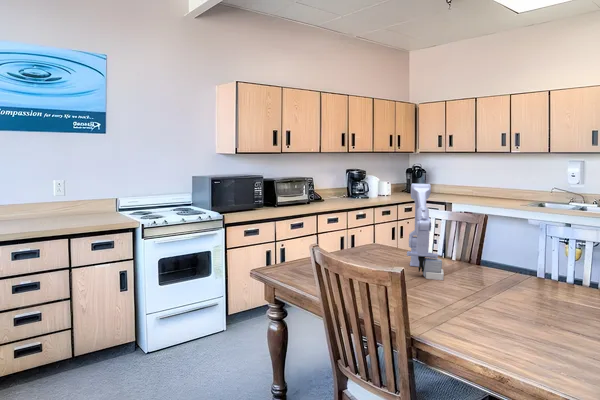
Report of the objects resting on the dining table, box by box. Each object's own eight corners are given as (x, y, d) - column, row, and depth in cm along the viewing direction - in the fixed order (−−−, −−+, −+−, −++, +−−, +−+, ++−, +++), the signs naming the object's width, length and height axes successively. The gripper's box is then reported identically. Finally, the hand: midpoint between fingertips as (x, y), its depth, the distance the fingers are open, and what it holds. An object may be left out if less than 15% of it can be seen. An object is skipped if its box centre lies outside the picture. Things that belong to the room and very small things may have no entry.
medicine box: (438, 275, 207) (440, 258, 206) (440, 278, 202) (442, 260, 201) (422, 274, 207) (423, 257, 206) (424, 277, 203) (425, 259, 202)
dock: (425, 273, 210) (426, 267, 210) (442, 275, 208) (443, 269, 207) (425, 278, 201) (426, 272, 201) (443, 280, 199) (443, 274, 199)
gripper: (406, 244, 203) (405, 271, 204) (438, 247, 199) (436, 275, 200) (407, 241, 210) (406, 268, 211) (438, 244, 205) (436, 271, 207)
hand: (421, 271), depth 206 cm, fingers closed, pressing on medicine box
